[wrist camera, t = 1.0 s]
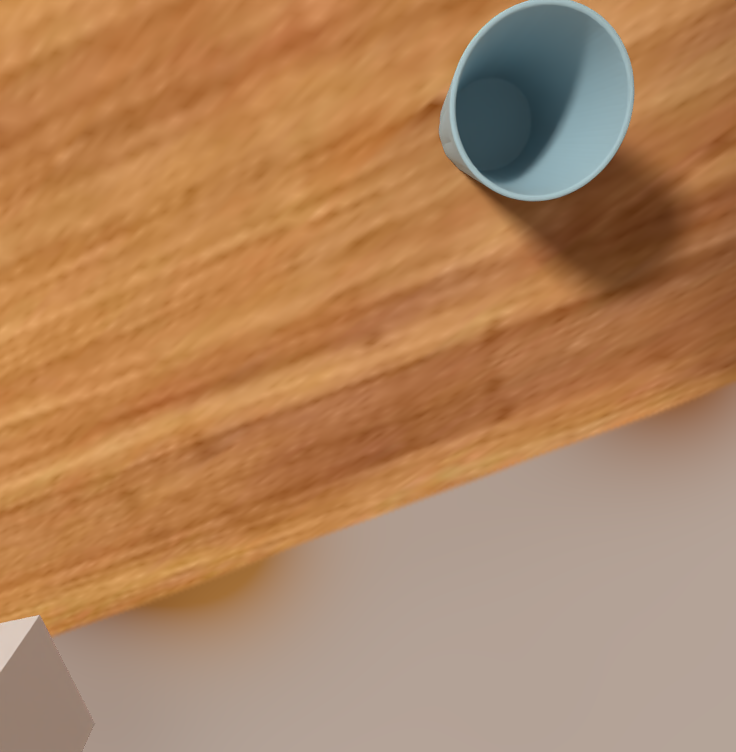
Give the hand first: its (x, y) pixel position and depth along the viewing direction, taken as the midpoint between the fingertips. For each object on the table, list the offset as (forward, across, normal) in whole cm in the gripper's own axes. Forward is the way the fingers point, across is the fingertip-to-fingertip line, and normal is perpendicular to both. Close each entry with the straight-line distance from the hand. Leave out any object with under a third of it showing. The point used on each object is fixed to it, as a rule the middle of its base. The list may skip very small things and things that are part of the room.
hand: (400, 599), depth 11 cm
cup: (+28, +9, +8) cm, 31 cm away
